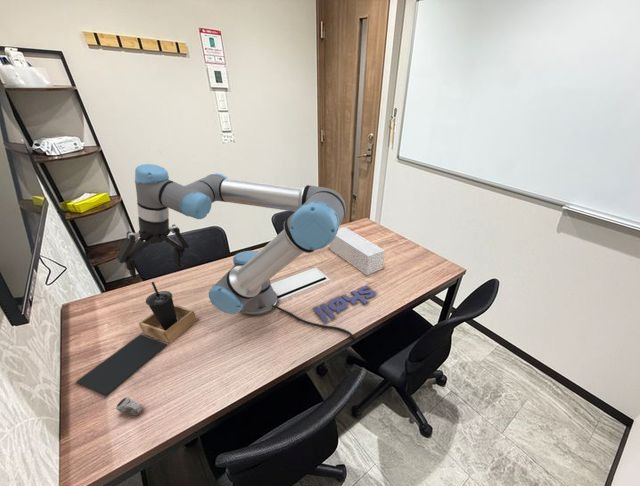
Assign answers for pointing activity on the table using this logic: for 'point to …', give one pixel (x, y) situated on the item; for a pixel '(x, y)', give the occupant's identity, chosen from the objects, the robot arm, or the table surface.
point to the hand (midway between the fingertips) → (156, 269)
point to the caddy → (172, 332)
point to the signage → (343, 303)
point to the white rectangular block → (358, 251)
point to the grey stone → (128, 402)
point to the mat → (121, 365)
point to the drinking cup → (162, 307)
